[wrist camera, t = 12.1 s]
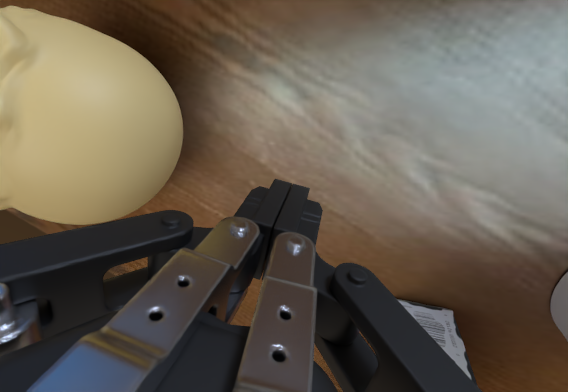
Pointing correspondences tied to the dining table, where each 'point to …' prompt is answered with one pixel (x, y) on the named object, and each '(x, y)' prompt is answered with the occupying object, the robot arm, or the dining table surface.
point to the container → (560, 305)
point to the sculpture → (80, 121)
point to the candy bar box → (442, 331)
